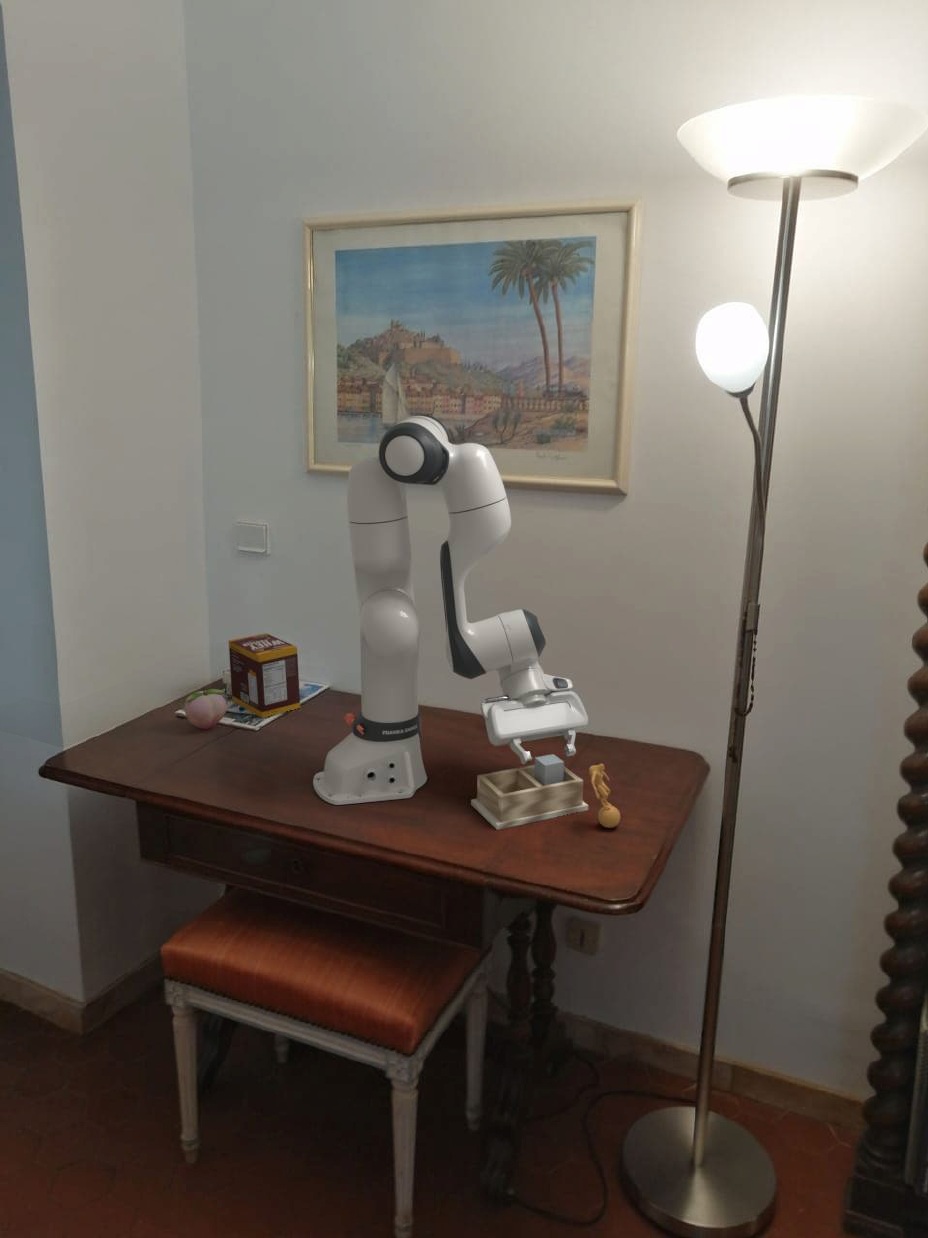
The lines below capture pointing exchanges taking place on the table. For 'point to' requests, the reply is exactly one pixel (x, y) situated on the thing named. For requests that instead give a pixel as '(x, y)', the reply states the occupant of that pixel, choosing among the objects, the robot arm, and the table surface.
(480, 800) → the wooden divided tray
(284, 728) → the table surface
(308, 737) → the table surface
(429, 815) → the table surface
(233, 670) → the supplement box
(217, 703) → the decorative fruit
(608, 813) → the figurine
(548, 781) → the grey peg
